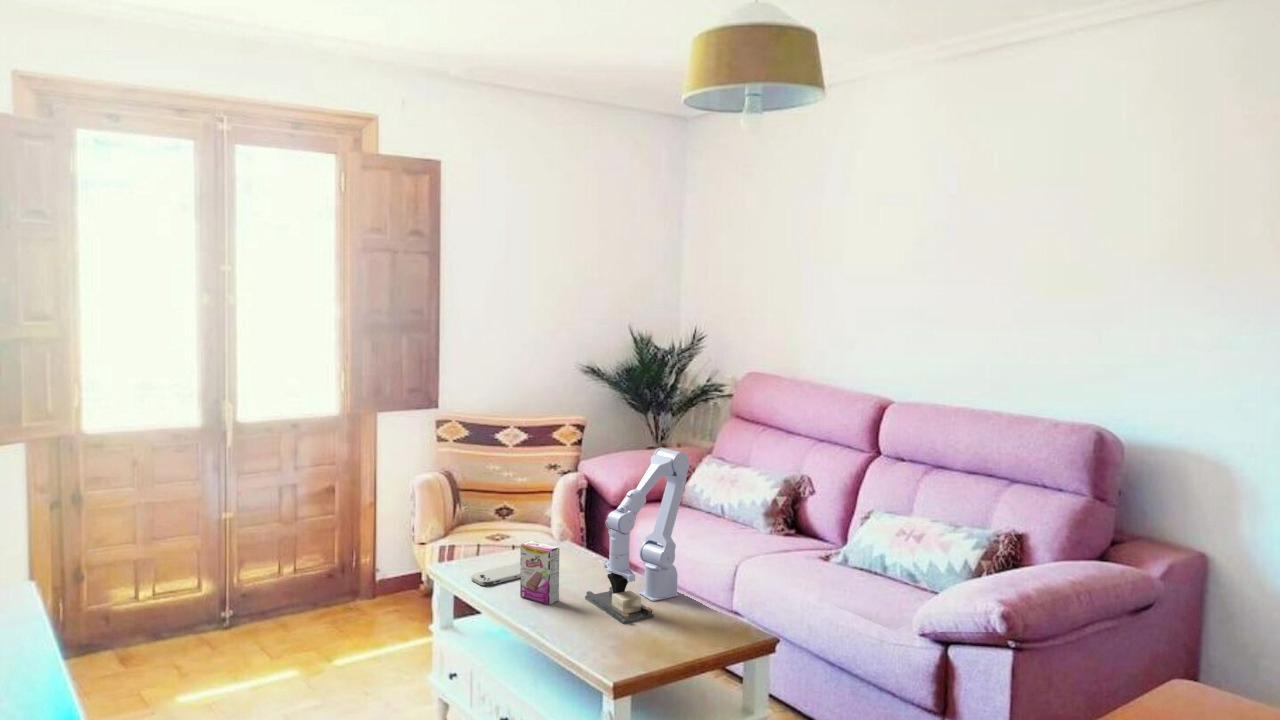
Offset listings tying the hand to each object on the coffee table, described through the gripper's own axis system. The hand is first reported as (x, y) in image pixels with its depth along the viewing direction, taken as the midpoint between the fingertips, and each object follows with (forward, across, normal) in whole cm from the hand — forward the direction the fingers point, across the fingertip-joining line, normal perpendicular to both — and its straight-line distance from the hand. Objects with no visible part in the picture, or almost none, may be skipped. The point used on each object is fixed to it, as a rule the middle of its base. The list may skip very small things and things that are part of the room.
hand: (618, 598), depth 259 cm
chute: (+3, 0, 0) cm, 3 cm away
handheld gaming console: (+3, -40, -17) cm, 44 cm away
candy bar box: (+3, -17, -17) cm, 24 cm away
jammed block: (+2, +4, 0) cm, 5 cm away
